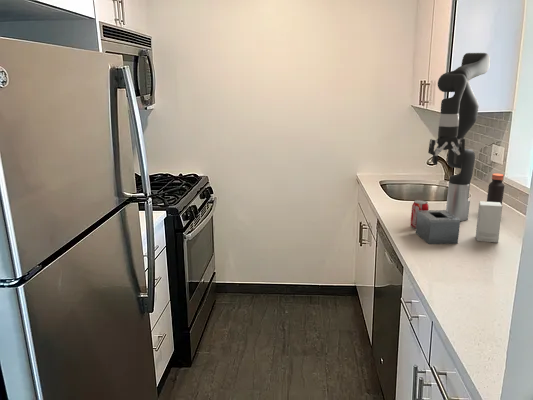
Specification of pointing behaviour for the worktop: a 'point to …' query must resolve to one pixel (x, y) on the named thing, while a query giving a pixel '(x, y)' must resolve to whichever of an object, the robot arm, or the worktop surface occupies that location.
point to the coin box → (437, 227)
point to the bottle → (496, 189)
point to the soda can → (415, 207)
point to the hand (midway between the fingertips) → (445, 164)
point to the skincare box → (488, 221)
